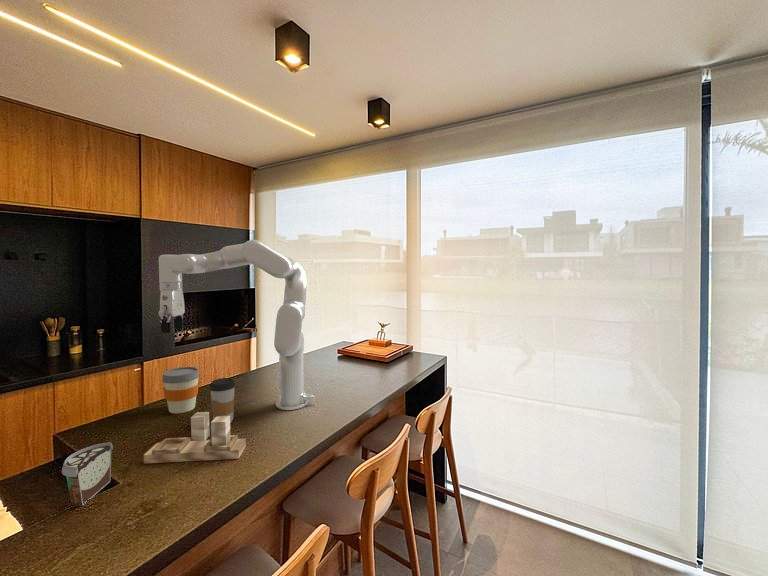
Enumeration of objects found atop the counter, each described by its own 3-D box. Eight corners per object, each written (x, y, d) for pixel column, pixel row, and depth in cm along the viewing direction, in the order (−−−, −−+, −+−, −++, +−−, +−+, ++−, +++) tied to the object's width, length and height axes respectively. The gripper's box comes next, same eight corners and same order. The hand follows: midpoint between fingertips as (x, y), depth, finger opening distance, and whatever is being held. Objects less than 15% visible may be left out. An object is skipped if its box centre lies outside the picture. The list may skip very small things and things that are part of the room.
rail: (245, 446, 108) (245, 413, 108) (238, 458, 101) (237, 423, 101) (157, 450, 106) (156, 416, 105) (143, 463, 99) (142, 427, 98)
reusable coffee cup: (183, 416, 130) (182, 377, 129) (155, 413, 132) (153, 375, 131) (207, 403, 142) (206, 367, 141) (180, 401, 144) (179, 365, 144)
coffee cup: (241, 418, 128) (240, 378, 127) (223, 428, 120) (222, 386, 119) (223, 415, 131) (222, 376, 130) (205, 425, 123) (203, 383, 122)
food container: (89, 479, 91) (87, 442, 91) (114, 478, 92) (112, 441, 91) (48, 511, 79) (46, 469, 79) (77, 510, 80) (75, 468, 79)
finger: (197, 435, 115) (197, 411, 115) (210, 434, 116) (209, 411, 115) (191, 442, 111) (190, 417, 110) (204, 441, 111) (203, 417, 111)
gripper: (170, 287, 126) (171, 334, 127) (191, 285, 143) (192, 326, 144) (148, 288, 125) (149, 335, 126) (172, 285, 142) (173, 326, 143)
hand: (172, 330), depth 135 cm, fingers open, 9 cm apart
